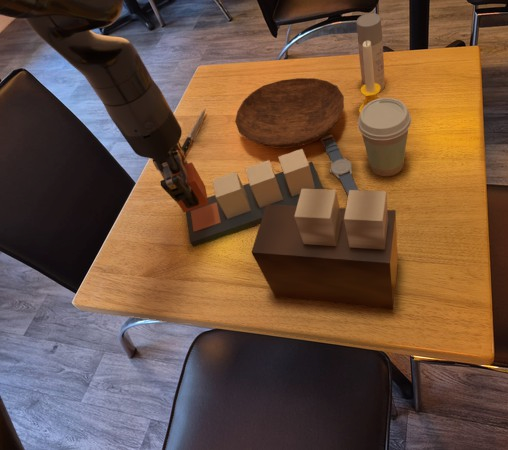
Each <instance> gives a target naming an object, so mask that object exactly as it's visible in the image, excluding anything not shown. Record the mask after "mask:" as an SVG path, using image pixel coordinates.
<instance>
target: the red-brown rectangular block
mask: <svg viewBox="0 0 508 450" xmlns="http://www.w3.org/2000/svg"><path fill="white" fill-rule="evenodd" d="M187 163H188V164H185V165H184V167H185V169H186V171H187V173H188V177H187V180H188V182H189V184H190V186H191V188H192V190H193V192H194V193H195V195H196V197H197V198H198V200H199V205H197V206H194V207H192V208H187V207H186V206H185V204H184V203H183V201H182V200H179V201H177V202H176V203H177V204H178V206H179V208H180V209H181V211H182V212H183V213H186V212H187V211H190V210H192V209H195V208H198V207H201V206H204V205H207V204H208V194H207V189H206V184H205V183H204V181H203V179H202V178H201V175H200V174H199V173H198V171H197V169H196V166H194V164H193V162H187ZM180 173H182V172H181V171H179V172H178V173H176V174H173V175H177V174H180Z"/></svg>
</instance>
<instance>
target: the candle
mask: <svg viewBox="0 0 508 450" xmlns="http://www.w3.org/2000/svg"><path fill="white" fill-rule="evenodd" d="M363 60H364V72H365V85H363V86H361V87H360V89H359V90H360V94H361V95H363V96H364V99H363V103H362V104H361V105H360V106H359V108H358V111H359V112H358V113H359V114H360V113H361V110H362V109H363V107H364V106H365V105H366V104H368V103H369V102H371V101H373V100H376V99H380V98H379V97H378V94H379V93H380V92H379V91H380V90H381V87H380V85H379V84H377V83H374V71H373V59H372V48H371V42H370V41H367V40H366V41H365V42H364V43H363Z"/></svg>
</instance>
